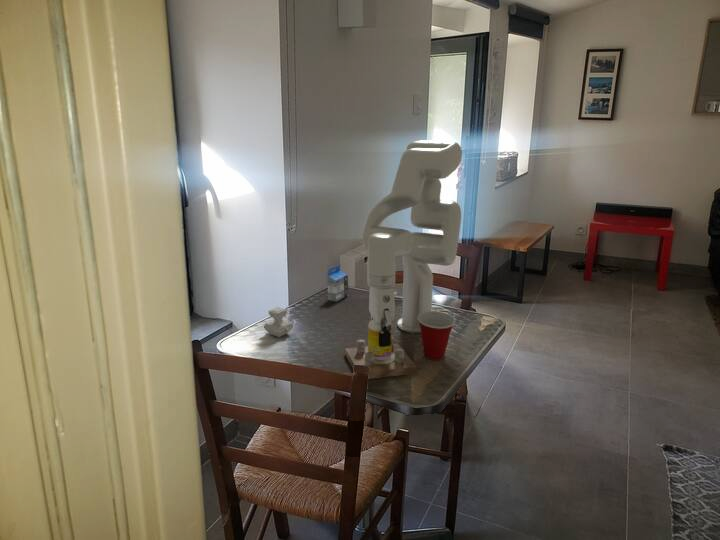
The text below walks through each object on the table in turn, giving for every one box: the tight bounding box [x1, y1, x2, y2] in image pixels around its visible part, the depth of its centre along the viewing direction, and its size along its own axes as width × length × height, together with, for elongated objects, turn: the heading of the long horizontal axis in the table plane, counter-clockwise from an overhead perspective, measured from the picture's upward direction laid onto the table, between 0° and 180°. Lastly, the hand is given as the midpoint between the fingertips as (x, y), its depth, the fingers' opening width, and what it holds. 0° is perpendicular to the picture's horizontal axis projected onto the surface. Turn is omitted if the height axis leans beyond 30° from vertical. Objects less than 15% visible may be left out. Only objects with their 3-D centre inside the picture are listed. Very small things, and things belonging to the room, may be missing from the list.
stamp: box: [263, 306, 294, 338], centre depth 170 cm, size 9×7×8 cm
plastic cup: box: [417, 310, 456, 361], centre depth 155 cm, size 11×11×12 cm
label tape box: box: [326, 263, 349, 303], centre depth 204 cm, size 9×4×12 cm, turn 149°
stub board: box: [344, 336, 418, 380], centre depth 150 cm, size 16×16×6 cm
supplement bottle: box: [367, 313, 393, 360], centre depth 149 cm, size 7×7×13 cm
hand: (380, 339), depth 149 cm, fingers open, 7 cm apart
